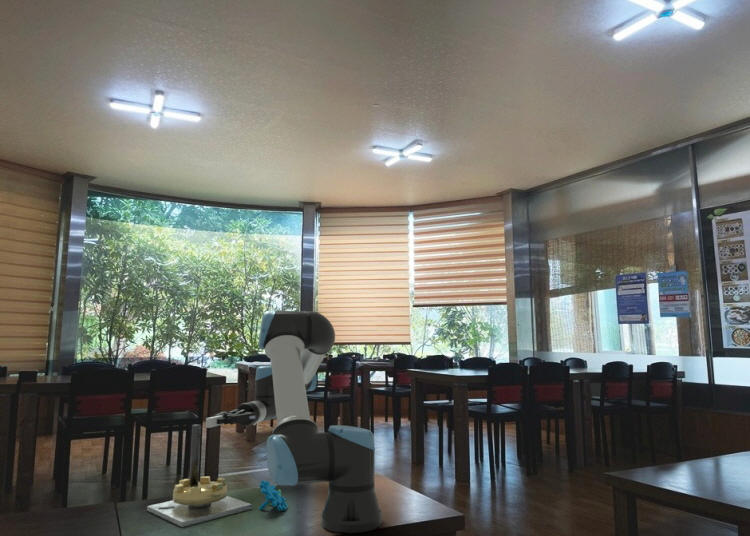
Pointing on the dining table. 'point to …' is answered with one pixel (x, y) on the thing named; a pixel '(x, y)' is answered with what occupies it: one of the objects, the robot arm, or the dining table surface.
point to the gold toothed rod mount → (191, 488)
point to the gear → (272, 496)
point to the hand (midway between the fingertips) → (208, 423)
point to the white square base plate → (197, 511)
